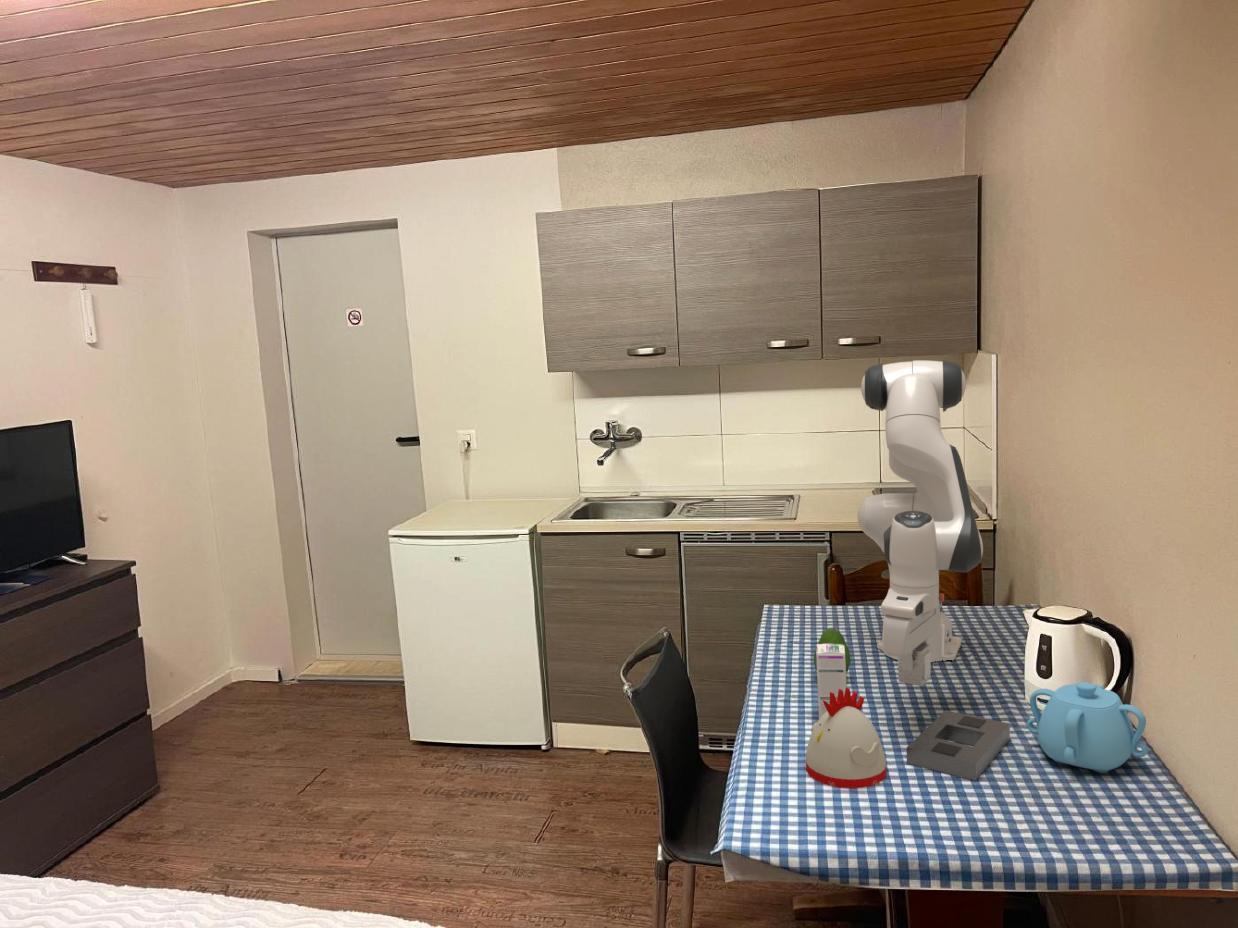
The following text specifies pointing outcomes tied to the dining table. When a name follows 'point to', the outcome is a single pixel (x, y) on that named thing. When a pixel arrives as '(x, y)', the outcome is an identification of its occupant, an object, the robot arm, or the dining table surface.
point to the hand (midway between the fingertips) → (914, 664)
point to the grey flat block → (954, 756)
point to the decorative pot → (1087, 727)
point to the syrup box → (830, 672)
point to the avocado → (834, 638)
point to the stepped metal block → (917, 666)
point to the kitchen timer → (845, 745)
